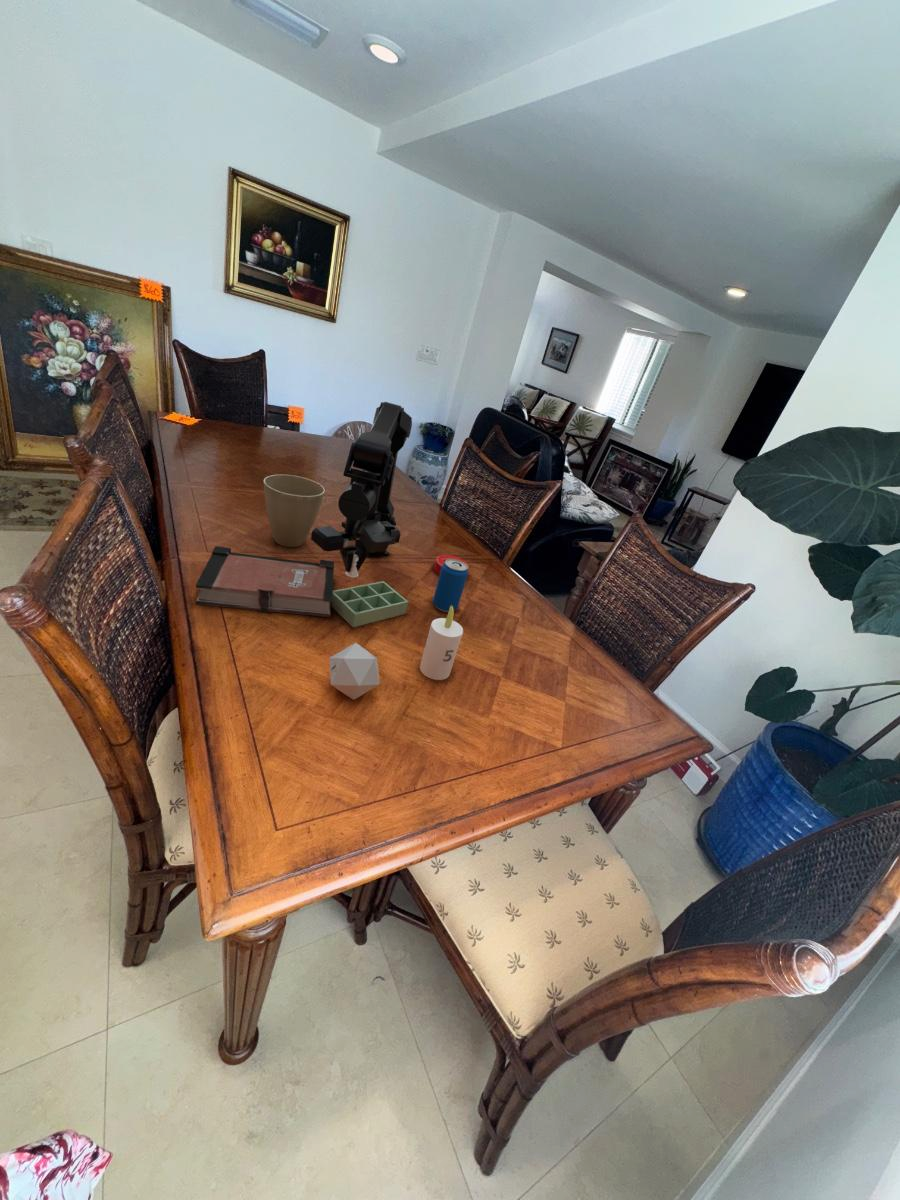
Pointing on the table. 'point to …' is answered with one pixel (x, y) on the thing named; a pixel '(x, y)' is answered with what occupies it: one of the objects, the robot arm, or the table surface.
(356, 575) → the chess pawn
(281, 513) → the plant pot
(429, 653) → the candle
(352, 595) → the grid
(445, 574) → the beverage can
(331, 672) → the die
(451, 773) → the table surface
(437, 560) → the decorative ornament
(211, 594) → the book
